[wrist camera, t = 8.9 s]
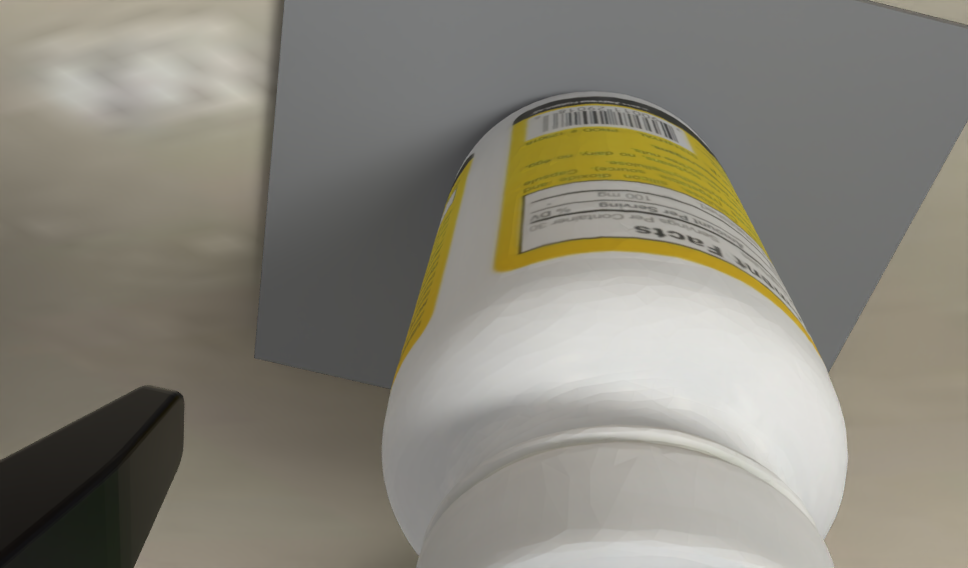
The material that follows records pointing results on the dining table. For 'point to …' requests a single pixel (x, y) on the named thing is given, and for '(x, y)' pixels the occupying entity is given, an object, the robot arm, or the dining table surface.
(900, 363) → the dining table surface
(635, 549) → the supplement bottle
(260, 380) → the dining table surface
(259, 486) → the dining table surface
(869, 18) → the rubber mat
